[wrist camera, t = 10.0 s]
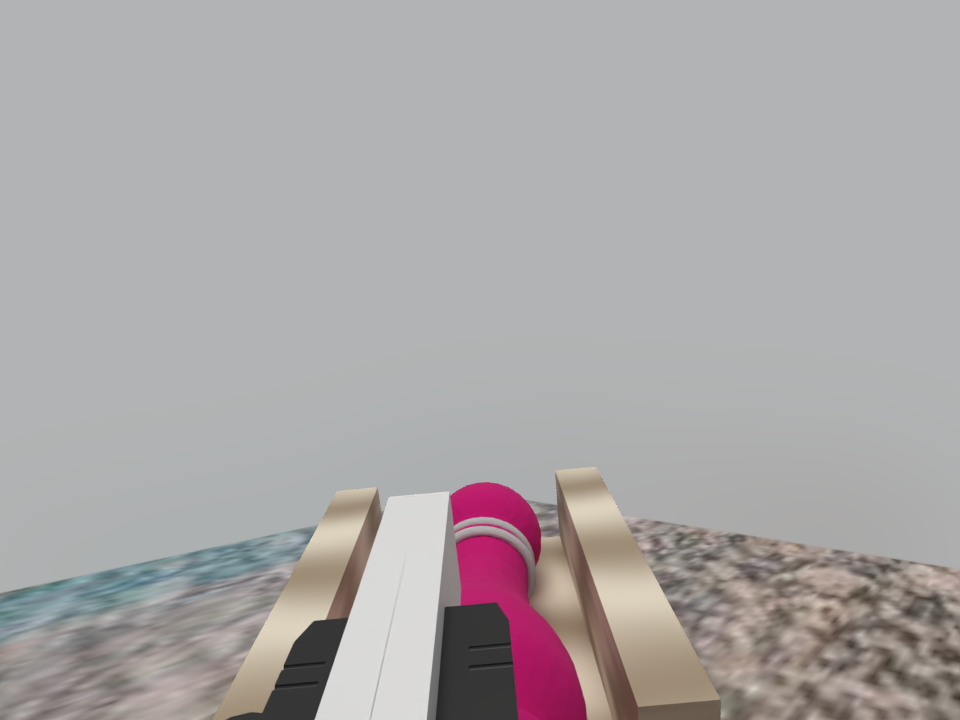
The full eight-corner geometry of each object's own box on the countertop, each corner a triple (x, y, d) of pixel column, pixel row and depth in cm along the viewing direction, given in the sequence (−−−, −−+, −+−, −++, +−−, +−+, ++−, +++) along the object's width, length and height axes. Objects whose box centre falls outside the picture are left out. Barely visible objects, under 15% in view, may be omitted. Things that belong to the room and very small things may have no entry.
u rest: (720, 875, 18) (720, 699, 16) (242, 915, 18) (197, 746, 16) (601, 567, 34) (595, 466, 33) (354, 590, 34) (337, 491, 33)
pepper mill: (451, 1017, 14) (480, 580, 34) (674, 883, 13) (570, 513, 33) (263, 836, 13) (405, 497, 33) (484, 678, 12) (494, 425, 32)
